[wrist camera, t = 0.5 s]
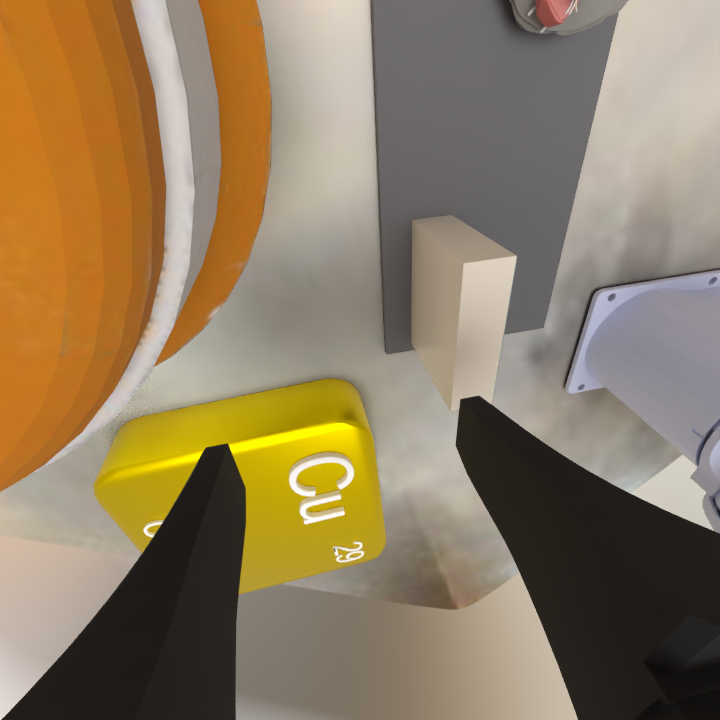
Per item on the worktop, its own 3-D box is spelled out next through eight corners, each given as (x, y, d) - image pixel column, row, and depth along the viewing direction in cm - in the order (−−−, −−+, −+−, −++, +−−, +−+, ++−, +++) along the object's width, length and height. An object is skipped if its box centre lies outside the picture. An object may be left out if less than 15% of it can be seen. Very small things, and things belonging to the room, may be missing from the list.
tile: (454, 214, 18) (520, 255, 14) (446, 337, 22) (494, 402, 18) (411, 220, 18) (463, 263, 13) (411, 343, 22) (450, 411, 17)
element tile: (104, 419, 22) (69, 487, 18) (356, 368, 24) (373, 421, 20) (196, 552, 31) (185, 618, 27) (376, 508, 32) (390, 564, 28)
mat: (651, -162, 13) (661, -169, 13) (539, 324, 24) (543, 327, 23) (364, -160, 12) (366, -167, 11) (384, 350, 23) (386, 354, 22)
